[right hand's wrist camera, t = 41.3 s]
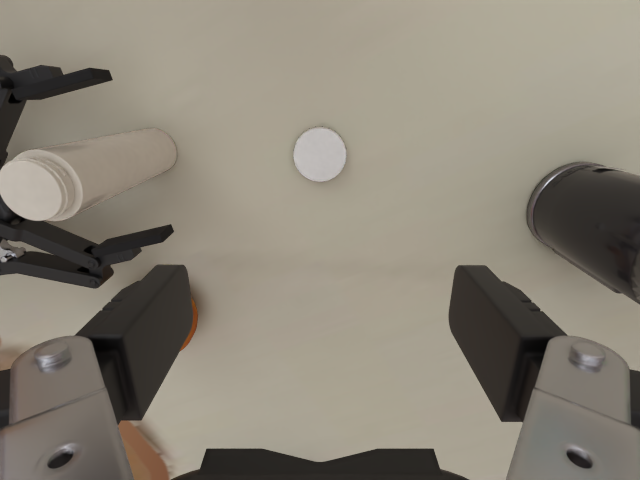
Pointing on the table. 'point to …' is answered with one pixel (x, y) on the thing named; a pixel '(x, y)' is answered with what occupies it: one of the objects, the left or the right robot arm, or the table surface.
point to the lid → (319, 154)
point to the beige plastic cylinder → (83, 173)
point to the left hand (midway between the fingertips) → (137, 159)
